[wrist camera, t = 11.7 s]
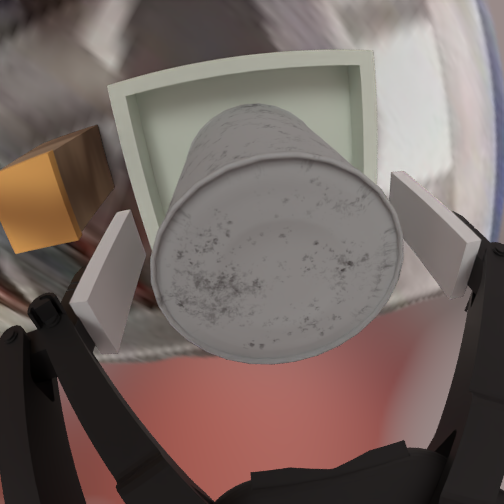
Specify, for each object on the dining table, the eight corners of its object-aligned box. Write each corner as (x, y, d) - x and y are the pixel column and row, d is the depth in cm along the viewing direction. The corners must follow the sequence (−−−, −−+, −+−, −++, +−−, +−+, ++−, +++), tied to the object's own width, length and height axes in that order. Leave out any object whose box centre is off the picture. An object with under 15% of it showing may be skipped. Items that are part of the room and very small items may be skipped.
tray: (121, 82, 18) (107, 85, 16) (355, 50, 18) (373, 50, 16) (172, 273, 27) (168, 296, 25) (358, 245, 27) (371, 266, 24)
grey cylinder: (224, 78, 18) (221, 95, 8) (347, 145, 21) (446, 232, 11) (165, 201, 23) (122, 325, 12) (279, 249, 26) (313, 380, 15)
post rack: (15, -50, 10) (-42, -65, 4) (70, -79, 10) (23, -111, 4) (61, 202, 23) (15, 253, 16) (116, 188, 23) (78, 240, 16)
